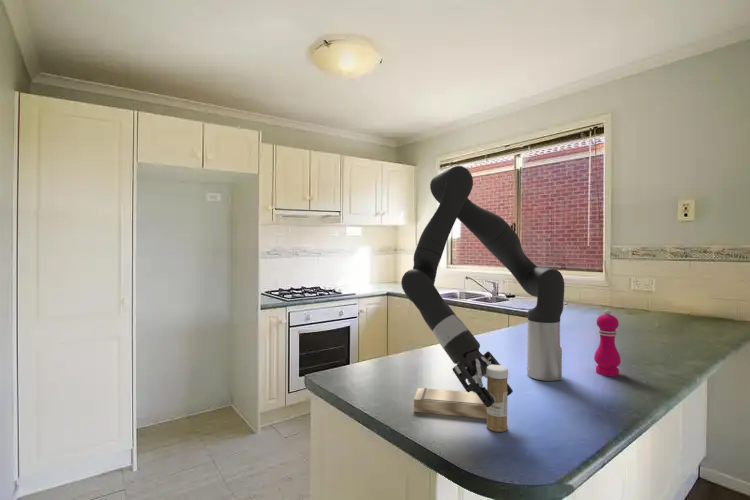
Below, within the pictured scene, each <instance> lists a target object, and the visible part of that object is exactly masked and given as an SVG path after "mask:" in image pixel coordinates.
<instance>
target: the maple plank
mask: <svg viewBox="0 0 750 500" xmlns="http://www.w3.org/2000/svg"><path fill="white" fill-rule="evenodd" d="M413 412H415V413H424V414H425V413H426V414H435V415H446V416H456V417H464V418H465V417H467V418H468V417H469V418H477V419H478V418H479V419H485V420H487V407H486V406H485V404H483V402H482V401H481V399H480V398H479V397H478V395H477V394H476V393H474V392H473V391H470V392H467V391H460V390H451V389H449V390H447V389H437V388H427V387H424V388H423V387H418V388H417V390H416V392H415V396H414V398H413Z"/></svg>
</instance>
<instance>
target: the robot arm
mask: <svg viewBox="0 0 750 500" xmlns="http://www.w3.org/2000/svg"><path fill="white" fill-rule="evenodd" d="M473 179H474V178H473V176H472V173H471V172H470V170H469V169H468V168H467V167H465V166H463V165H454V166H451V167H448V168H447V169H445V170H444V171H442V172H440V173H439V174H438V173H437V174H436V175H435V176H434V177H433V178H432V179H431V180H430V184H429V185H430V186H429V189H430V192H431V194H432V196H433V198H434V199H435V200H436V201H437V202H438V207H437V208H436V211H434V214H433V215H432V217H431V218H430V220H429V221H428V222H427V224H426V226H425V228H424V229H423V231H422V232H421V235H420V236H419V240H418V243H417V245H416V248H415V250H414V254H413V267H412V268H411V269H409V270H407V271H405V272H404V274H403V275H402V278H401V288H402V291H403V292H404V294H405V296H406V298H407V299H408V300H409V301H410V302H412V303H413V305H414V306H415V307H416V308H417V310H418V311H419V314H420V315H421V317H422V318H423V320H424V322H425V323H426V325H427V326H428V327H429V329H430V330H431V332H432V334H433V335H434V337H435V339H436V340H437V342H438V343H439V345H440V346H441V348H442V349H443V350H444V352H445V353H446V355H447V356H448V357H449V358H450V360H451V362H452V363H453V364H454V365H455V366H453V367H452V371H453V373H454V375H455V376H456V378H457V379H458V381H459V382H460V384H461V385H462V388H464V390H465V392H474V393H476V394H477V395H478V397H479V398H480V399H481V401H482V402H483V404H485V406H486V407H490V406H491V405H493V404H494V403H495V400H494V399H493V398H492V396H491V395H490V394H489V392H488V391H487V388H486V387H485V386H484V384H483V380H482V379H483V377H484V378H485V379H487V374H486V371H487V366H489V365H501V364H500V363H499V362H498V360H497V359H496V357H495V356H494V355H493V354H492V353H491V352H490V351H485V353H484V354H482V353H481V352H480V347H481V344H480V342H479V341H478V340H477V338H476V337H475V336H474V335H473V333H472V332H471V331H470V329H469V328H468V327H467V325H466V324H465V323H464V322H463V320H461V318H460V317H458V315H457V314H456V313H455V312H454V310H453V309H452V308H451V307H450V305H449V304H448V303H447V302H446V300H444V299H443V297H442V296H441V294H440V293H439V291H438V289H437V288H436V286H435V282H436V277H437V271H438V267H439V264H440V262H441V259H442V256H443V253H444V251H445V247H446V244H447V242H448V239H449V237H450V234H451V232H452V229H453V227H454V225H455V223H456V221H457V220H458V221H460V222H461V224H463V225H464V226H465V227H466V228H467V229H468V230H469V231H470V232H471V233H472V234H473V235H474V236H475V237H476V238H477V240H479V241H480V243H481V244H482V245H483V246H484V247H485V248H486V249H487V250H488V251H489V252H490V253H491V254H492V255H493V256H494V257H495V258H496V259H497V260H498V261H499V262H500V263H501V265H503V267H505V268H506V269H507V270H508V271H509V272H510V273H511V274H512V276H513V277H514V279H515V280H516V282H518V284H519V285H520V286H521V288H522V289H523V290H524V291H525V292H526V293H527V294H529V295H530V296H533V297H536V299H537V300H536V305H535V307H533V308H530V309H528V311H527V353H526V354H527V355H526V357H527V361H526V362H527V363H526V365H527V367H526V370H527V373H526V375H527V376H528V377H530V378H532V379H535V380H538V381H539V380H540V381H546V382H554V381H562V380H563V378H562V377H563V365H562V364H563V349H562V347H561V316H562V314H563V311H564V302H565V301H564V300H565V281H564V280H565V279H564V276H563V274H562V273H561V271H560V270H558V269H556V268H549V267H540V266H538V265H536V264H535V263H534V262H533V261H532V260H531V259H530V258H529V257H528V256H527V255H526V254H525V252H524V250H523V247H522V243H521V240H520V238H519V236H518V234H517V232H516V231H515V229H513V228H512V227H511V225H509V224H508V222H507V221H506V220H505V219H504V218H502V217H501V216H499V215H497V214H495V213H494V212H492V211H489V210H487V209H486V208H482V207H481V206H479V205H477V204H475V203H474V202H472V201H471V199H469V196H470V194H471V193H472V190H473V186H474V180H473ZM467 382H468V383H467ZM507 391H508V392H507V397H508V396H510V395H511V394H513V392H514V390H513V388H511V386H510V384H509V383H508V382H507Z"/></svg>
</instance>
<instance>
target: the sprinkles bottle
mask: <svg viewBox="0 0 750 500" xmlns="http://www.w3.org/2000/svg"><path fill="white" fill-rule="evenodd" d="M486 374H487V378H486V381H487V382H486V383H487V384H486V387H487V388H486V389H487V391H488V392H489V394H490V395H491V396H492V398H493V399H494V400H495V403H494V404H493V405H491V406H490V407H487V419H486V424H485V425H486V428H487V429H488V430H490V431H493V432H496V433H497V432H498V433H503V432H505V431H507V430H508V429H509V428H508V396H507V392H508V391H507V383H508V378H509V368H508V367H506V366H505V365H502V364H500V365H489V366H487V371H486Z"/></svg>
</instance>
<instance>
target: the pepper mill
mask: <svg viewBox="0 0 750 500" xmlns="http://www.w3.org/2000/svg"><path fill="white" fill-rule="evenodd" d="M611 313H612V312H611V310H610V309H605V310H604V314H601V315H599V316H598V317H597V318H596V325H597V327H598V328H599V329H598V335H599V338H600V339H599V345H598V347H597V349H596V350H595V352H594V356H593V360H594V362H595V363H596V366H595V372H596V373H597V374H598V375H601V376H606V377H618V376H619V375H620V368H618V367H619V366H620V365H621V363H622V361H621V360H622V359H621V355H620V353H619V352H618V349H617V346H616V340H615V338H616V336H617V335H618V334H617V329H618V327H620V326H619V325H620V324H619V322H620V321H619V320H618V318H617V317H616V316H615V315H612V314H611Z"/></svg>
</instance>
